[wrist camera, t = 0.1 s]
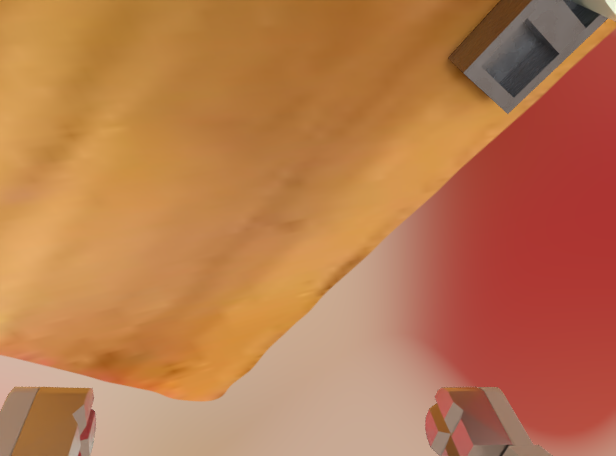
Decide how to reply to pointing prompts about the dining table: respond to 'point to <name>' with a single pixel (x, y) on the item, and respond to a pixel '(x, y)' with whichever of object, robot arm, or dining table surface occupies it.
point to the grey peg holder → (522, 46)
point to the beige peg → (600, 7)
